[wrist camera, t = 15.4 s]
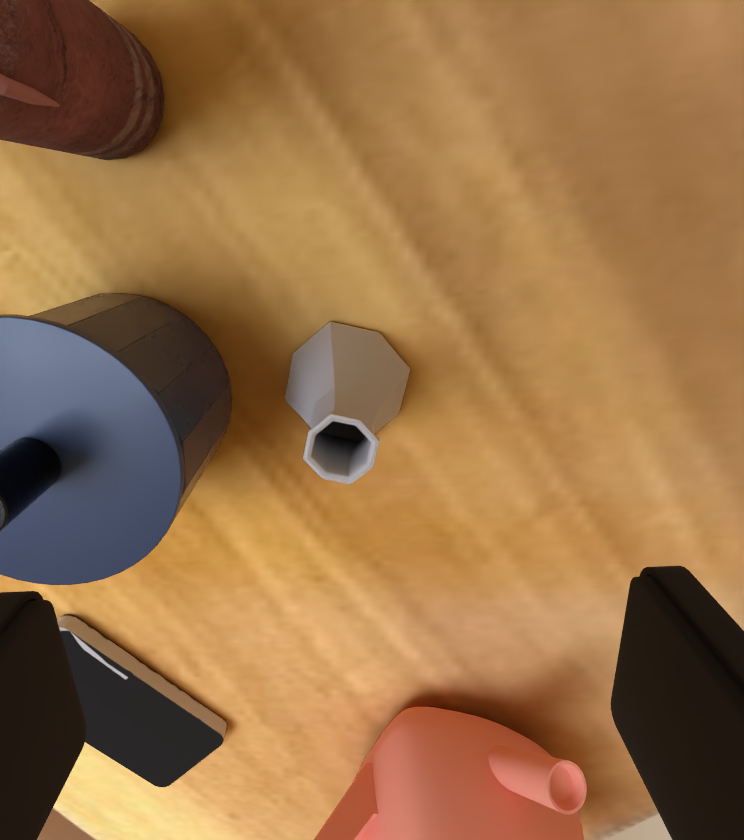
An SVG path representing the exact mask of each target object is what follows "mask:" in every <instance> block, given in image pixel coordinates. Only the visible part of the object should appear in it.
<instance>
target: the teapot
mask: <svg viewBox="0 0 744 840" xmlns="http://www.w3.org/2000/svg"><path fill="white" fill-rule="evenodd" d="M586 791H587V787H586V781H585V777H584V775H583V773H582V771H581V769H580V768H579V767H578V766H577V765H576V764H575V763H573V762H571V761H568V760H563V759H559V758H554V757H552V756H551V755H550V754H549V753H548V752H547V751H545V750H544V749H543V748H542V747H541V746H539V745H538V744H536V743H535V742H533V741H532V740H530V739H528V738H526V737H524V736H523V735H521V734H519V733H517V732H515V731H513V730H511V729H509V728H507V727H505V726H503V725H501V724H498V723H495V722H493V721H490V720H487V719H484V718H481V717H478V716H474V715H470V714H466V713H461V712H456V711H451V710H446V709H441V708H436V707H412V708H408V709H406V710H403V711H402V712H401V713H399V714H398V715H397V716H396V717H395V718H394V719H393V720H392V722H391V723H390V724H389V725H388V726H387V728H386V729H385V730H384V732H383V733H382V735H381V736H380V737H379V739H378V740H377V742H376V743H375V744H374V746H373V747H372V749H371V750H370V752H369V754H368V755H367V757H366V759H365V760H364V762H363V764H362V766H361V768H360V769H359V771H358V773H357V775H356V777H355V779H354V781H353V783H352V785H351V786H350V788H349V789H348V791H347V792H346V793H345V795H344V796H343V798H342V799H341V801H340V802H339V804H338V805H337V807H336V808H335V810H334V811H333V813H332V814H331V815H330V817H329V818H328V820H327V821H326V823H325V824H324V826H323V827H322V829H321V830H320V832H319V833H318V835H317V836H316V838H315V839H314V840H584V837H583V830H582V825H581V820H580V815H579V811H578V810H579V809H580V808H581V807H582V805H583V804H584V801H585V798H586Z"/></svg>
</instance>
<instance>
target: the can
mask: <svg viewBox="0 0 744 840" xmlns="http://www.w3.org/2000/svg"><path fill="white" fill-rule="evenodd" d="M163 106H164V92H163V87H162V81H161V76H160V73H159V71H158V69H157V67H156V65H155V63H154V60H153V58H152V56H151V54H150V52H149V51H148V50H147V49H146V48H145V47H144V46H143V44H142V43H141V42H140V41H139V40H138V39H137V38H136V36H135V35H134V34H132V33H131V32H130V31H128V30H127V29H126V28H125V27H123V26H122V25H121V24H119V23H118V22H117V21H115V20H114V19H113V18H111V17H110V16H109V15H107V14H106V13H105V12H104V11H102V10H101V9H100V8H98V7H97V6H96V5H94V4H93V3H92V2H90V1H89V0H0V140H5V141H10V142H15V143H21V144H26V145H31V146H36V147H41V148H47V149H52V150H57V151H62V152H68V153H73V154H78V155H83V156H88V157H94V158H99V159H104V160H113V159H123V158H127V157H129V156H131V155H133V154H135V153H137V152H139V151H141V150H143V149H144V147H145V146H146V145H147V144H148V143H149V142H150V141H151V140H152V139H153V138H154V136H155V134H156V132H157V130H158V127H159V125H160V122H161V120H162V118H163Z"/></svg>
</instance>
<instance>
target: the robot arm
mask: <svg viewBox="0 0 744 840" xmlns="http://www.w3.org/2000/svg"><path fill="white" fill-rule="evenodd" d="M611 711H612V716H613V719H614V723H615V725H616V727H617V729H618V731H619V733H620V735H621V737H622V739H623V741H624V743H625V745H626V747H627V749H628V751H629V754H630V756H631V758H632V760H633V762H634V764H635V766H636V768H637V770H638V772H639V774H640V776H641V778H642V780H643V782H644V784H645V786H646V788H647V790H648V792H649V794H650V796H651V798H652V800H653V802H654V804H655V806H656V808H657V810H658V812H659V814H660V816H661V818H662V820H663V822H664V824H665V826H666V828H667V830H668V832H669V834H670V836H671V838H672V840H744V631H743V630H742V629H741V628H740V626H739V625H738V624H737V623H736V622H735V621H734V620H733V619H732V618H731V617H730V615H729V614H728V613H727V612H726V611H725V610H724V609H723V608H722V607H721V606H720V604H719V603H718V602H717V601H716V600H715V599H714V598H713V597H712V596H711V595H710V593H709V592H708V591H707V590H706V589H705V588H704V587H703V586H702V585H701V584H700V582H699V581H698V580H697V579H696V578H695V577H694V576H693V575H692V574H691V573H690V571H689V570H687V569H686V568H685V567H682V566H664V567H646V568H644V569H643V570H642V572H641V574H640V577H634V578H633V579H632V580H631V583H630V588H629V594H628V600H627V606H626V612H625V619H624V625H623V631H622V637H621V643H620V649H619V655H618V661H617V667H616V673H615V679H614V686H613V692H612V698H611ZM85 738H86V721H85V718H84V714H83V710H82V707H81V703H80V700H79V696H78V693H77V689H76V686H75V682H74V679H73V675H72V671H71V668H70V664H69V661H68V657H67V654H66V650H65V647H64V643H63V640H62V636H61V632H60V629H59V625H58V622H57V618H56V615H55V611H54V608H53V605H52V603H51V602H50V601H47V600H43V598H42V596H41V595H40V594H39V593H38V592H35V591H27V592H2V593H0V840H37V838H38V836H39V834H40V832H41V830H42V828H43V826H44V824H45V822H46V820H47V818H48V816H49V814H50V812H51V810H52V808H53V806H54V804H55V802H56V800H57V798H58V796H59V794H60V792H61V790H62V788H63V786H64V784H65V782H66V780H67V778H68V776H69V774H70V772H71V770H72V768H73V766H74V764H75V762H76V760H77V758H78V756H79V754H80V752H81V750H82V748H83V746H84V742H85Z"/></svg>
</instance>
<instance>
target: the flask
mask: <svg viewBox="0 0 744 840" xmlns="http://www.w3.org/2000/svg"><path fill="white" fill-rule="evenodd" d="M409 373H410V368H409V367H408V366H407V365H406V363H405V362H404V361H403V360H402V359H401V358H400V356H399V355H398V354H397V353H396V352H395V350H394V349H393V348H392V347H391V346H390V345H389V343H388V342H387V341H386V340H385V339H384V338H383V336H382V335H381V334H380V333H379V332H375V331H371V330H366V329H362V328H357V327H353V326H349V325H344V324H340V323H335V322H331V321H330V322H329V323H327V324H326V325H325V326H324V327H323V328H322V329H321V330H319V331H318V332H317V333H316V334H315V335H314V336H312V337H311V338H310V339H309V340H308V341H307V342H306V343H304V344H303V345H302V346H301V347H300V348H299V349H297V350H296V351H295V352H294V353H293V356H292V361H291V367H290V372H289V378H288V383H287V388H286V394H285V400H286V402H287V403H288V404H289V405H290V406H291V407H292V408H293V409H294V410H295V411H296V412H297V413H298V414H299V415H300V416H301V417H302V418H303V419H304V421H305V422H306V423H307V424H308V425H309V426H310V429H309V431H308V436H307V440H306V445H305V450H304V455H303V459H304V460H305V461H306V462H307V463H308V464H309V465H310V466H311V468H312V469H313V470H314V471H315V472H316V473H317V474H318V475H319V476H320V477H321V478H322V479H326V480H331V481H336V482H341V483H346V484H352V483H353V482H354V481H356V480H357V479H358V478H360V477H361V476H362V475H363V474H365V473H366V472H367V471H369V470H370V469H371V468H373V464H374V460H375V456H376V452H377V448H378V444H379V438H378V437H377V436H376V435H375V434H374V433H376V432H377V431H378V430H379V429H381V428H382V427H383V426H384V425H386V424H387V423H388V422H390V421H391V420H392V419H393V418H395V417H396V416H397V415H398V414H399V411H400V407H401V404H402V400H403V396H404V392H405V388H406V385H407V381H408V377H409Z"/></svg>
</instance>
